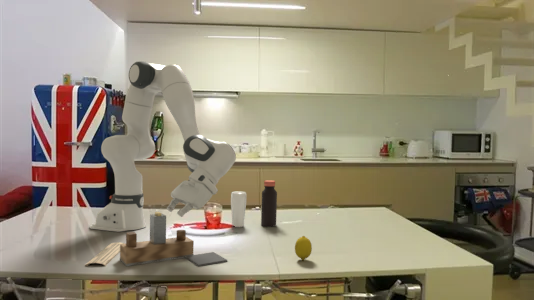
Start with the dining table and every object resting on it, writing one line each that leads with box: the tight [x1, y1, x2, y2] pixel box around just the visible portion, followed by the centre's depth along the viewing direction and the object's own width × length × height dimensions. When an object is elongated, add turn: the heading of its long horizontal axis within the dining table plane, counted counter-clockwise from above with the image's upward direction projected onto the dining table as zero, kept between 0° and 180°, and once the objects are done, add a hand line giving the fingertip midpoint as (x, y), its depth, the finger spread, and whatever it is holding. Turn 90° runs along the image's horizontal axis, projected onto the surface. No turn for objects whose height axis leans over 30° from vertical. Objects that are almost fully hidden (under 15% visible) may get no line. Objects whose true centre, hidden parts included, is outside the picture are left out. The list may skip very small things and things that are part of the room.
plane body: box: [119, 229, 195, 267], centre depth 137 cm, size 22×7×9 cm, turn 123°
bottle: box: [260, 179, 278, 228], centre depth 189 cm, size 7×7×20 cm
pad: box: [185, 251, 228, 267], centre depth 137 cm, size 10×10×1 cm
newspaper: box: [84, 241, 126, 267], centre depth 140 cm, size 24×7×2 cm, turn 3°
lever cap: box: [149, 211, 167, 245], centre depth 137 cm, size 4×4×10 cm
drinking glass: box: [230, 190, 247, 228], centre depth 186 cm, size 7×7×15 cm
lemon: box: [294, 235, 313, 261], centre depth 139 cm, size 6×6×8 cm
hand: (173, 212), depth 140 cm, fingers open, 8 cm apart
